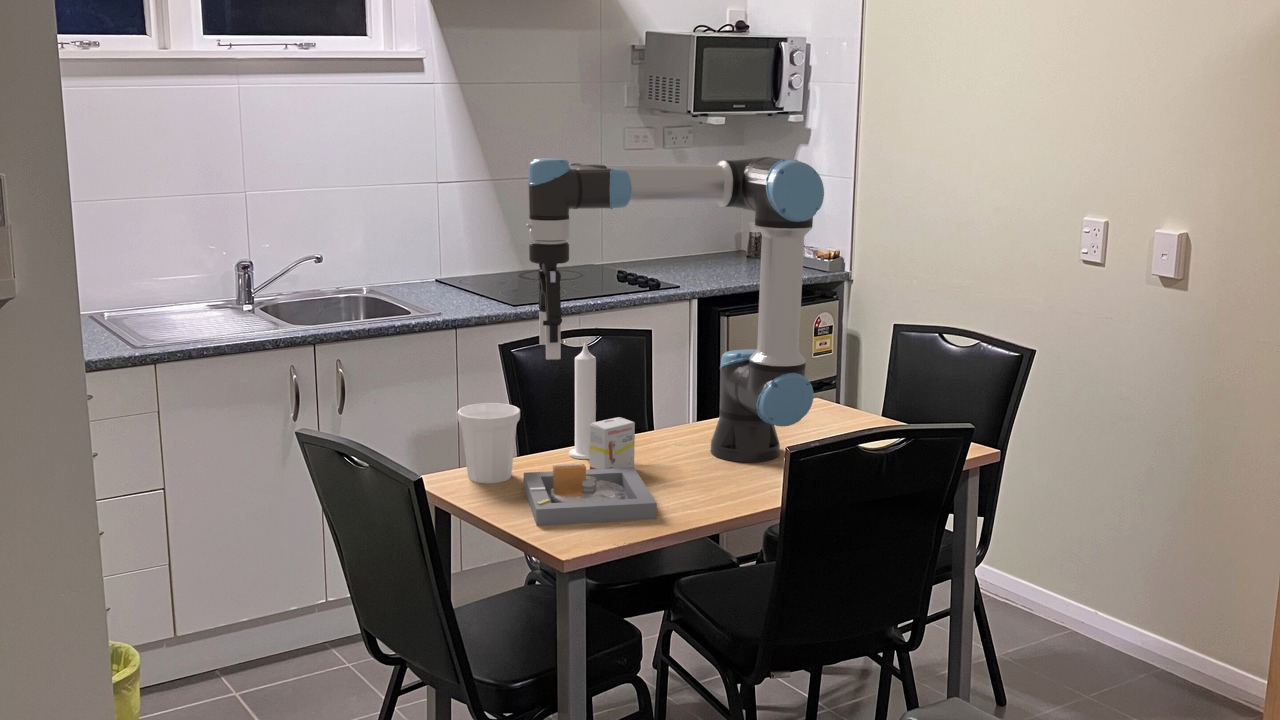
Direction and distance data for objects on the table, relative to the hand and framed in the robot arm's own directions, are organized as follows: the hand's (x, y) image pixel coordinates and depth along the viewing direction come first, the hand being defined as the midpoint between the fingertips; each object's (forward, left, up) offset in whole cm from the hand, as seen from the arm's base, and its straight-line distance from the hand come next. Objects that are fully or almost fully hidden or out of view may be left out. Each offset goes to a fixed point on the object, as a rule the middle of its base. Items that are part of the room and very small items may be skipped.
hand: (549, 351), depth 240 cm
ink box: (-14, -8, -29) cm, 33 cm away
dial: (-6, +11, -27) cm, 30 cm away
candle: (-11, -25, -29) cm, 40 cm away
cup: (+11, -8, -29) cm, 32 cm away
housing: (-6, +11, -29) cm, 31 cm away
